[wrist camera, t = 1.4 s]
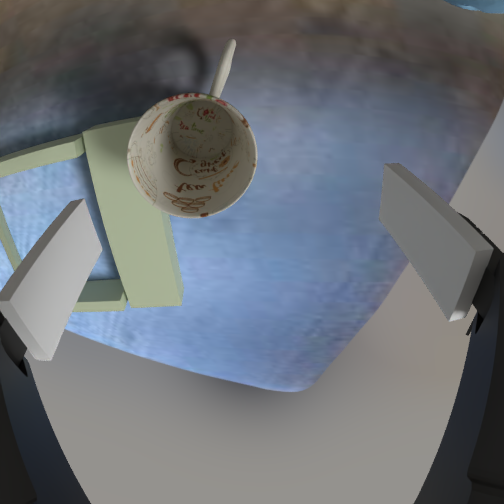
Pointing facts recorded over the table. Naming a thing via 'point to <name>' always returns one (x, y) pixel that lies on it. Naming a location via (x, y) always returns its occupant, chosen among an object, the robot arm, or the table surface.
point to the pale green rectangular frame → (112, 221)
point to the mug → (193, 151)
